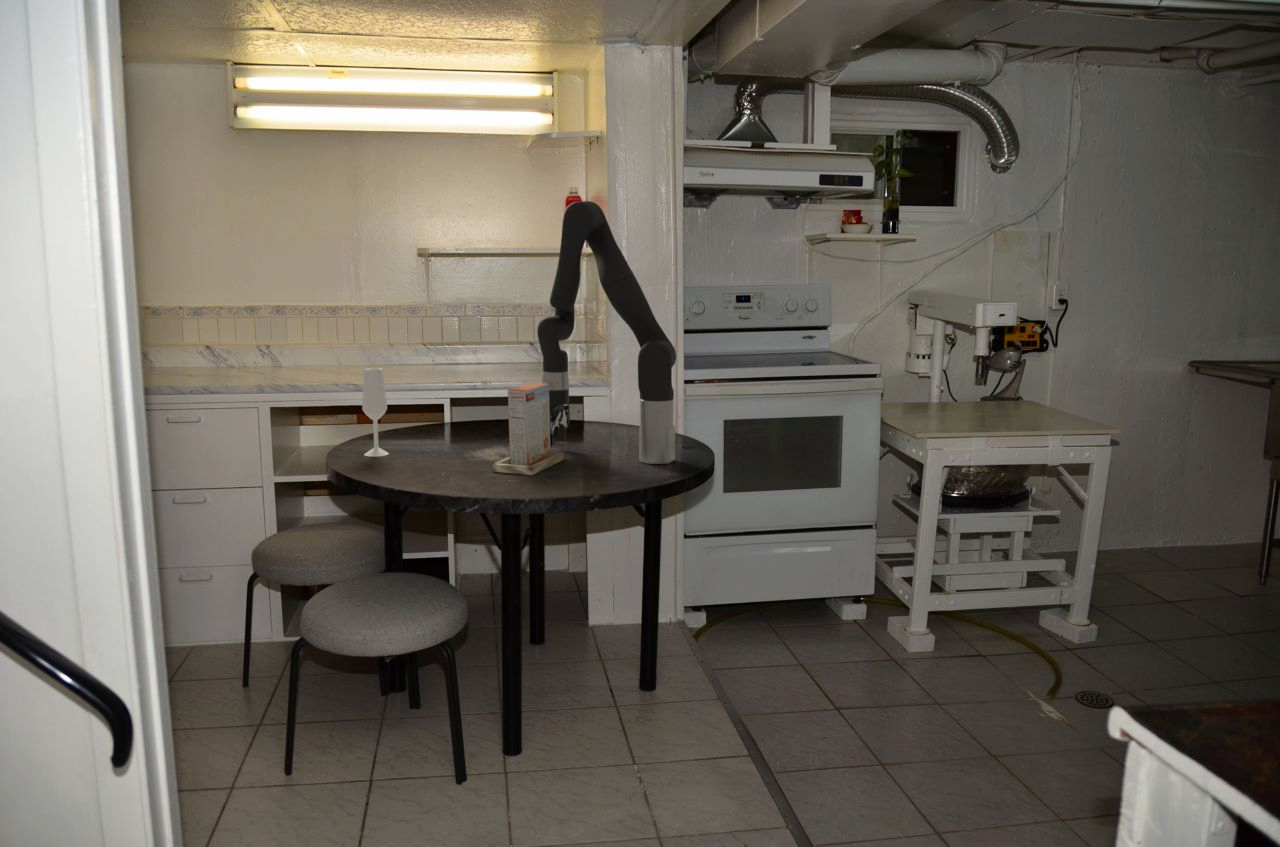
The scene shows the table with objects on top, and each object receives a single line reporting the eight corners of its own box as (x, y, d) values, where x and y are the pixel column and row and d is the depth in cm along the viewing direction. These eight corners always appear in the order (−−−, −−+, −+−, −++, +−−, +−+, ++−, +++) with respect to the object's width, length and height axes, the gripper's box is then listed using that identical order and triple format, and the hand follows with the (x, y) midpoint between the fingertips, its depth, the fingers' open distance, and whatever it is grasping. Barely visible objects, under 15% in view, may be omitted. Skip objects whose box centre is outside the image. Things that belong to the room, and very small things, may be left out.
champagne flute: (382, 457, 272) (379, 370, 268) (359, 455, 273) (356, 370, 269) (393, 452, 279) (390, 368, 274) (371, 451, 280) (367, 367, 276)
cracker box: (531, 456, 275) (530, 382, 272) (551, 457, 273) (550, 383, 269) (507, 466, 262) (506, 388, 259) (528, 468, 260) (527, 389, 257)
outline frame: (563, 459, 271) (563, 452, 270) (532, 475, 252) (532, 467, 252) (525, 456, 274) (525, 449, 274) (492, 471, 256) (492, 463, 255)
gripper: (557, 391, 269) (557, 449, 272) (577, 384, 282) (577, 440, 285) (532, 389, 272) (532, 447, 274) (554, 383, 285) (554, 438, 288)
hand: (555, 443), depth 280 cm, fingers open, 8 cm apart
